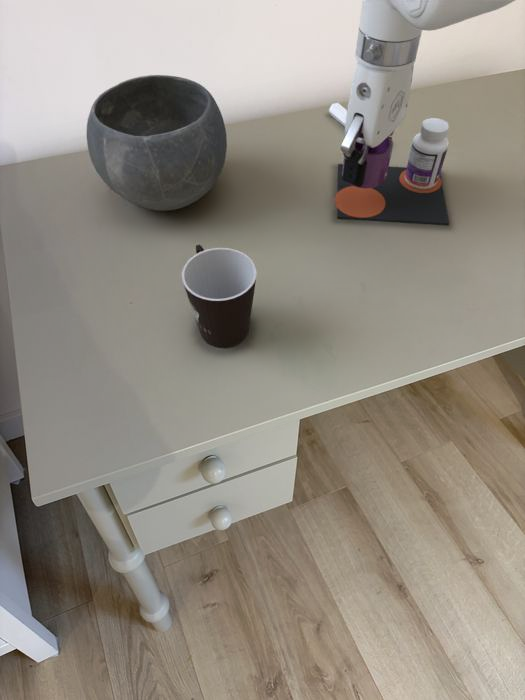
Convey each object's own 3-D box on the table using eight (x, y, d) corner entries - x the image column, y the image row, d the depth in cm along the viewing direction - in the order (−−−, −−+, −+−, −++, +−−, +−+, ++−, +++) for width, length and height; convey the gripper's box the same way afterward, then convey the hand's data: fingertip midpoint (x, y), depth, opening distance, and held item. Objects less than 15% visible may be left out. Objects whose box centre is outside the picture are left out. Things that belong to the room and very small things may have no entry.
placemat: (438, 171, 89) (439, 168, 89) (448, 225, 81) (449, 222, 81) (335, 165, 90) (335, 163, 90) (333, 218, 82) (334, 215, 82)
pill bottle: (423, 167, 89) (438, 111, 82) (444, 184, 86) (461, 128, 79) (397, 176, 88) (410, 120, 80) (417, 194, 85) (432, 138, 77)
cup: (384, 163, 82) (391, 130, 78) (386, 189, 78) (394, 156, 74) (342, 161, 82) (346, 128, 78) (341, 187, 78) (346, 153, 74)
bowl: (176, 142, 95) (164, 55, 83) (256, 193, 86) (255, 103, 74) (79, 191, 86) (50, 101, 74) (157, 253, 77) (137, 162, 65)
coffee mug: (256, 355, 66) (255, 301, 58) (188, 354, 66) (177, 300, 58) (258, 287, 73) (257, 231, 65) (196, 287, 73) (188, 230, 65)
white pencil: (382, 160, 93) (331, 117, 101) (391, 152, 92) (340, 109, 100) (378, 151, 90) (327, 107, 99) (388, 142, 90) (336, 99, 98)
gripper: (381, 81, 60) (358, 210, 74) (444, 27, 68) (413, 152, 82) (324, 63, 62) (313, 190, 77) (392, 13, 71) (370, 136, 85)
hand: (365, 169), depth 79 cm, fingers closed on cup, 6 cm apart
